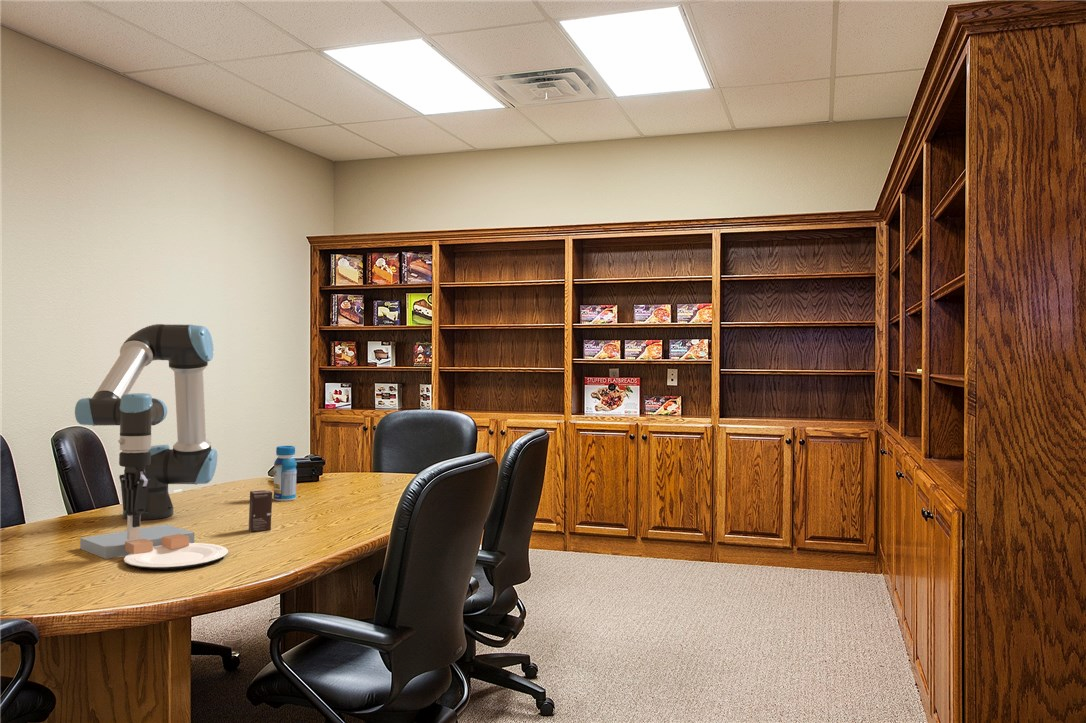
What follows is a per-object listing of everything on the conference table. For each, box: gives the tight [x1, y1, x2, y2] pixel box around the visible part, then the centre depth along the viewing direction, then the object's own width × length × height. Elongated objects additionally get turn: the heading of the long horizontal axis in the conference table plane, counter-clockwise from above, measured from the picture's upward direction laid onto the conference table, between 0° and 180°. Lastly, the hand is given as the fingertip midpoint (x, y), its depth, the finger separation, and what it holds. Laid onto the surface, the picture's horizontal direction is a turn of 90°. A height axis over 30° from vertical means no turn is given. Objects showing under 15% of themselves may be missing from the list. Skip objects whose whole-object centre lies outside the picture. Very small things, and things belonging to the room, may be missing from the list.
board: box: [79, 524, 195, 560], centre depth 218 cm, size 16×24×3 cm, turn 142°
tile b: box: [125, 539, 153, 554], centre depth 207 cm, size 5×5×2 cm
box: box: [248, 489, 273, 533], centre depth 241 cm, size 6×4×12 cm
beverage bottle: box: [272, 445, 298, 502], centre depth 292 cm, size 8×8×20 cm
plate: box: [123, 542, 229, 570], centre depth 205 cm, size 25×25×2 cm
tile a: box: [162, 534, 189, 549], centre depth 213 cm, size 5×5×2 cm
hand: (133, 538), depth 208 cm, fingers closed
